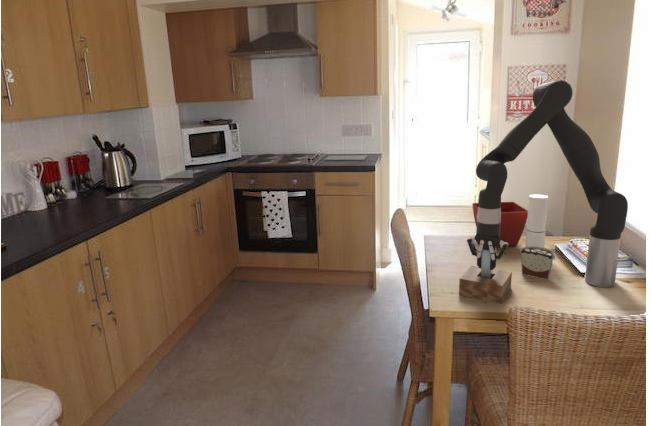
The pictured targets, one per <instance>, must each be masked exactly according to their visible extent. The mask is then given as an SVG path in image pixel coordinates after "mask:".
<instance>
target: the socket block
mask: <svg viewBox="0 0 652 426" xmlns="http://www.w3.org/2000/svg"><path fill="white" fill-rule="evenodd" d="M512 274H513V272H512V271H510V270H501V269H498V268H497V269H496V268H494V269H493V270H491V278H490V279H489V278H483V277H481V268H479V266H477V265H470V266H469V267H468V268H467V270H466V271H464V273H463V274H462V275H461V277H460V278H459V283H458V284H459V285H458V295H459V296H462V297H463V296H464V297H468V298H472V299H473V298H474V299H477V300H478V299H479V300H484V301H488V302H492V303H493V302H494V303H498V304H502V303H503V302H504V300H505V298H506V296H507V294H508V293H509V292H510V291H511V288H512V278H513V275H512Z"/></svg>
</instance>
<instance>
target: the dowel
mask: <svg viewBox="0 0 652 426" xmlns="http://www.w3.org/2000/svg"><path fill="white" fill-rule="evenodd" d="M490 266H491V254H490V250H488V249H482V258H481V277H483V278H489V279H490V278H491V270H490Z"/></svg>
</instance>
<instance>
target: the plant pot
mask: <svg viewBox="0 0 652 426" xmlns="http://www.w3.org/2000/svg"><path fill="white" fill-rule="evenodd" d="M478 205H479V202H473V203H472V212H473V218H474V219H473V220H474V223H475V227H476V229H477V212H478ZM527 218H528V209H526V208H525V207H523V206H522V205H519V204H518V203H516V202H515V201H501V224H500V238H501V240H502V241H504V242H508V243H509V245H508V247H507V248H514V247H517V245H518V244H519V243H520V239H521V237H522V235H523V232H524V230H525V227H526V225H527ZM496 248H501V247H500V243H499V244H498V245H497V246H496Z"/></svg>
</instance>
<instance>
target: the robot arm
mask: <svg viewBox="0 0 652 426" xmlns="http://www.w3.org/2000/svg"><path fill="white" fill-rule="evenodd" d="M573 93H574V92H573V88H572V86H571V84H570V83H569V82H567V81H565V80H564V79H563V80H562V79H561V80H559V79H557V80H552V81H549V82H545V83H542V84H539V85H538V86H536V87H535V88H534V91H533V93H532V102H533V105H534V107H535V108H534V109H533V110H532V111H531V112H530V113H529V114H528V115H527V116H526V117H524V118H523V119H522V120H521V121H520V122H519V123H517V124H516V125H515V126H514V127H513V128H511V130H509V132H508V133H507V134H506V135H505V136H504V138H503V139H502V140H501V141H500V143H499V144H498V145H497V146H496V147H495V148H494V149H492V150H491V151H490V152H489V153H487V154H485V155H484V156H483V158H482V159H481V160H480V161H478V164H477V165H476V168H475V174H476V176H477V178H478V179H480V180H481V181H484V182H486V186H485V188H482V189H481V190H479V193H478V203H479V205H478V212H477V228H476V229H475V230H476V233H475V236H470V237H468V238H467V239H466V242H467V245H468V247H469V251H470V252H471V255H472V256H475V257H476V258H477V259H476V266H479V268H481V258H482V249H488V250H490V254H491V266H490V270H493V269H496V267H497V260H500V259H502V257H503V256H504V254H505V252H506V250H507V248H509V247H508V245H509V243H508V242H504V241H502V240H501V238H500V224H501V202H502V195H503V191H504V190H505V187H506V182H507V180H508V168H507V166H506V165H505V164H506V163H509V162H513V161H514V162H515V160H516V159H517V158H518V157H519V155H520V154H521V153H522V152H523V151H524V149H525V148H526V147H527V145H529V143H530V142H531V141H532V140H533V139H534V137H535V136H536V135H538V133H539V132H540V131H541V130H542V129H543V128H544V127H545V126H546V125H547V126H548V127H549V129H550V131H551V134H552V135H553V136H554V138H555V140H556V142H557V143H558V145H559V148H560V149H561V151H562V154H563V156H564V157H565V159H566V161H567V163H568V165H569V167H570V168H571V170H572V172H573V173H574V175H575V177H576V178H577V180H578V181H579V183H580V185H581V186H582V189H583V192H584V195H585V197H586V200H587V203H588V204H589V207H590V209H591V210H592V211H593V212H594V213H595V214H597V216H596V217H597V218H596V223H595V224H594V225H592V226H591V227H590V230H589V240H588V249H587V258H586V266H585V274H584V275H585V277H584V281H585V283H587V284H588V285H591V286H594V287H598V288H599V287H600V288H615V285H616V279H617V278H616V277H617V270H618V269H617V268H618V263H619V261H618V260H619V253H620V252H619V251H620V246H621V245H620V244H621V243H620V242H621V238H622V233H623V232H624V229H625V227H626V222H627V216H628V210H629V204H628V203H629V202H628V199H627V197H626V196H625V195H624V194H622V193H620V192H617V191H616V190H613V189H612V188H611V186H610V184H608V182H607V180H606V179H605V177H604V175H603V173H602V169H601V162H600V155H599V152H598V149H597V148H596V146H595V144H594V142H593V140H592V138H591V136H589V134H588V133H587V132H586V131H585V129H583V128H582V127H581V126H580V125H578V124H577V123H576V122H575V121H573V119H572V118H571V117H570V115H569V114H568V113H567V112H566V110H565V107H567V106H568V104H570V102H571V100H572V98H573ZM475 243H477V245H478V249H477V247H476V245H475ZM499 243H500V247H499V248H500V251H499V253H498V254H497V247H496V246H497V245H498V244H499Z"/></svg>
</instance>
